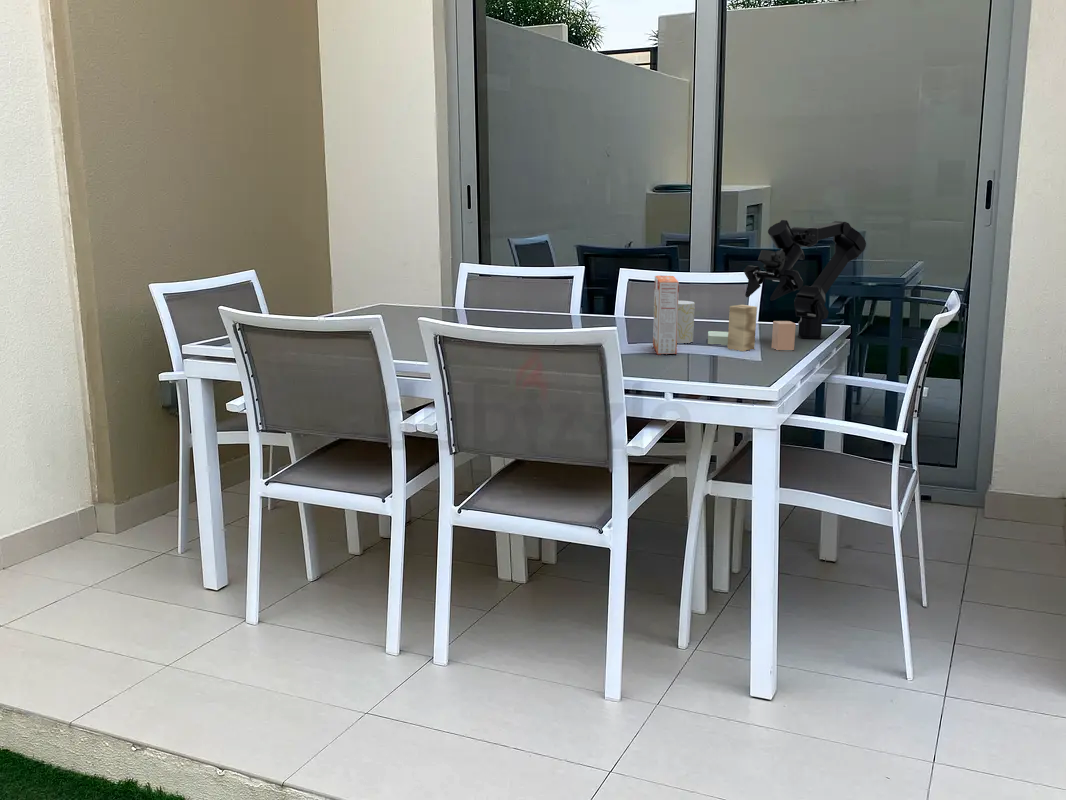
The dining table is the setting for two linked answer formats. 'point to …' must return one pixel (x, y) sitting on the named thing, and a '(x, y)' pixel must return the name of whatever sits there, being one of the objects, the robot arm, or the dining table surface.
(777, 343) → the terracotta block
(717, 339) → the sage slab
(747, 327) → the oak block
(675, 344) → the cracker box
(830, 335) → the dining table surface
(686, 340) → the cup
